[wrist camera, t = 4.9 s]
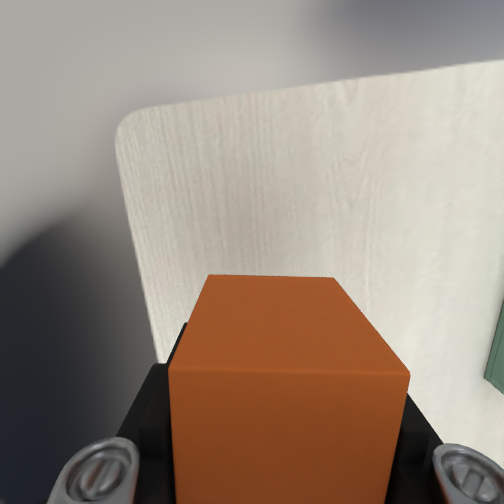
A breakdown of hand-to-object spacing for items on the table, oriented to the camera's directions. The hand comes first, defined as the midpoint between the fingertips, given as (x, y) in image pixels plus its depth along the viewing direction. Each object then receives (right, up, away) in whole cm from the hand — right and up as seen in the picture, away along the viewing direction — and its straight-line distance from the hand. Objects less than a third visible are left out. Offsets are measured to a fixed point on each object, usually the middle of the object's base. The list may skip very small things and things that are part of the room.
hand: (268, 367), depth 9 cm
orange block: (0, 0, 0) cm, 0 cm away
